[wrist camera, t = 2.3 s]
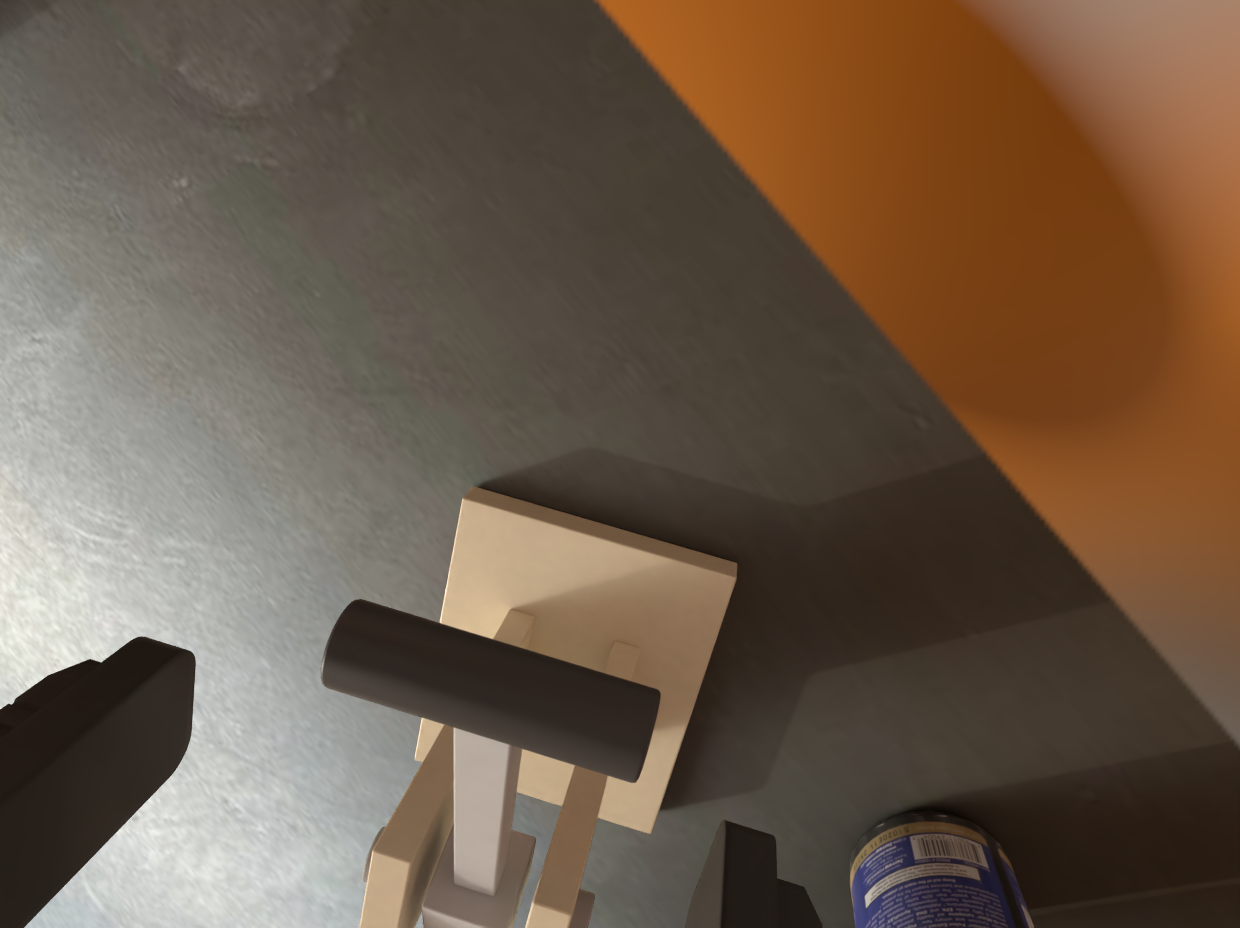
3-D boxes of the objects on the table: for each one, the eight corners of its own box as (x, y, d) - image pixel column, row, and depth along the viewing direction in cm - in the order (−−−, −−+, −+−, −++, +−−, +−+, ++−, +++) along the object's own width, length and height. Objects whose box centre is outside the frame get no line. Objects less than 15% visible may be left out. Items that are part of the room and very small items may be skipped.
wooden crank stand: (473, 485, 30) (287, 691, 19) (738, 562, 30) (721, 827, 18) (424, 741, 35) (249, 1040, 23) (654, 813, 34) (596, 1159, 22)
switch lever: (369, 561, 15) (300, 680, 13) (672, 652, 14) (641, 786, 13) (403, 830, 24) (365, 918, 22) (584, 889, 24) (560, 982, 22)
